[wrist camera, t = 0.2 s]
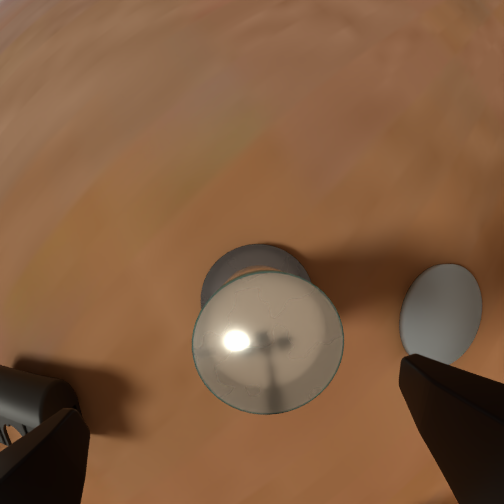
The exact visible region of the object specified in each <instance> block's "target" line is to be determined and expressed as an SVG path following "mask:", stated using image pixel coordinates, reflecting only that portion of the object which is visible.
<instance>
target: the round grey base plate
mask: <svg viewBox="0 0 504 504" xmlns="http://www.w3.org/2000/svg"><path fill="white" fill-rule="evenodd" d="M255 265H264V266H269V267H272V268H275V269H278V270H280V271H283V272H287V273H290V274H293V275H296V276H299V277H301V278H303V279H305V280H307V281H309V282H311V280H310V278H309V276H308V274H307V272H306V270H305V269H304V267H303V266H302V265H301V264H300V263H299V261H298V260H297V259H295V258H294V257H293V256H292V255H290V254H289V253H287V252H286V251H284V250H282V249H280V248H277V247H274V246H270V245H264V244H252V245H246V246H242V247H239V248H236V249H234V250H232V251H230V252H228V253H226V254H225V255H224V256H222V257H221V258H220V259H219V260H218V261H217V262H216V263H215V264H214V265H213V266H212V268H211V269H210V271H209V272H208V274H207V276H206V278H205V280H204V283H203V287H202V292H201V309H202V308H203V307H204V305H205V304H206V302H207V301H208V300H209V299H210V298H211V296H212V295H213V294H214V293H215V292H216V291H217V290H218V289H219V288H220V287H221V286H222V285H223V284H224V283H225V282H226V281H227V280H228V279H229V278H230V277H231V276H232V275H233V274H234V273H236V272H237V271H239V270H241V269H243V268H246V267H249V266H255Z"/></svg>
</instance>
